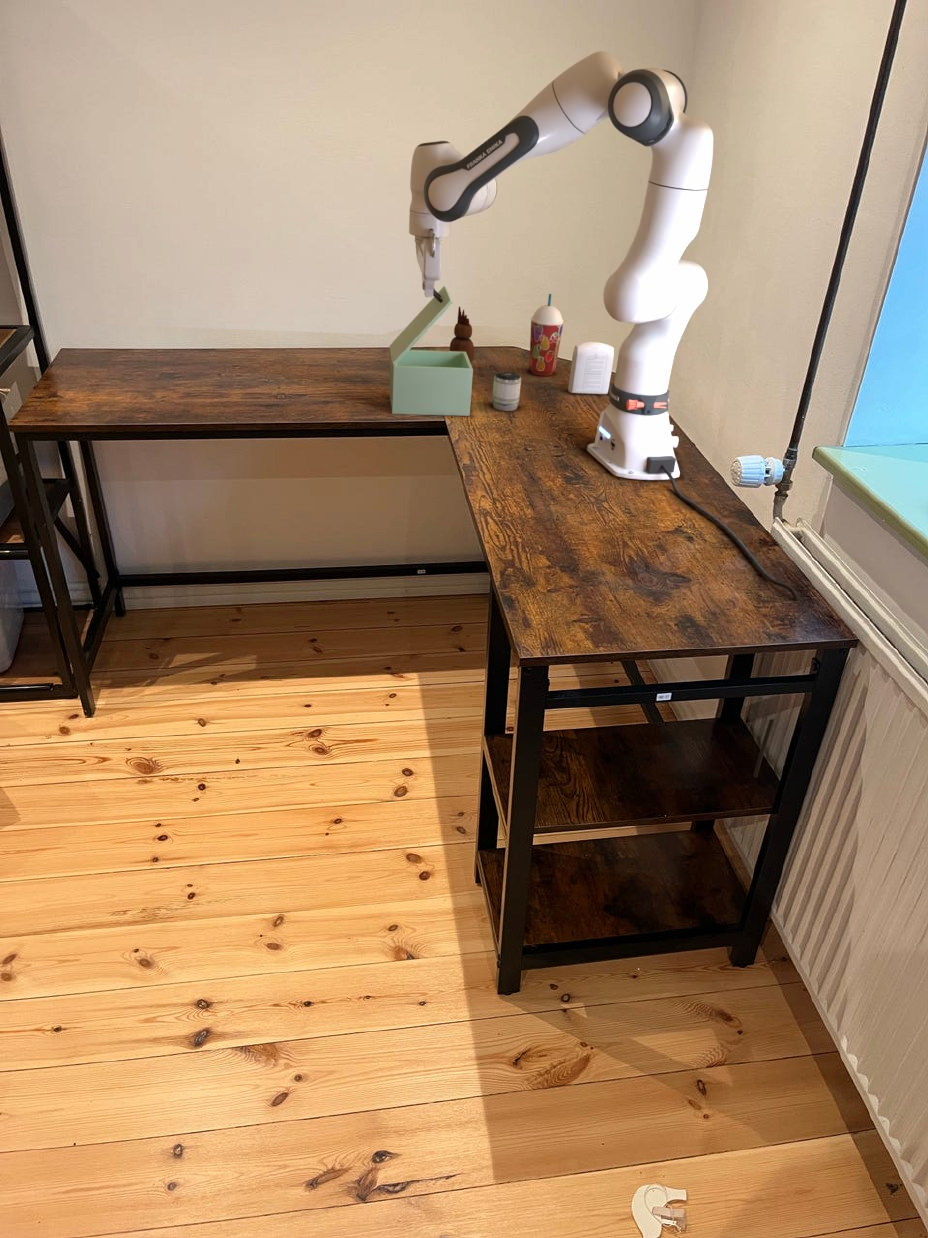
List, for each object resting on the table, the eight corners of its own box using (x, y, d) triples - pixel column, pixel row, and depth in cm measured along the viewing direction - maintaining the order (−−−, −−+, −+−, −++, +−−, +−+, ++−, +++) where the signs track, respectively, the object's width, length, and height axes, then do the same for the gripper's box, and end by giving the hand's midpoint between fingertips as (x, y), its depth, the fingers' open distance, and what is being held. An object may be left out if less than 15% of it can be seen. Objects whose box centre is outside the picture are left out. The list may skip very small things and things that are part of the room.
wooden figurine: (445, 363, 252) (448, 305, 245) (465, 362, 255) (469, 304, 247) (455, 371, 247) (459, 311, 240) (476, 369, 249) (480, 310, 242)
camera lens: (486, 405, 226) (488, 372, 222) (506, 401, 229) (509, 368, 225) (503, 413, 222) (506, 379, 218) (523, 409, 225) (527, 375, 221)
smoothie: (563, 372, 252) (572, 294, 242) (548, 379, 246) (557, 299, 236) (535, 365, 256) (543, 288, 246) (520, 372, 250) (527, 293, 240)
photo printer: (605, 389, 242) (612, 340, 236) (610, 395, 239) (617, 345, 232) (566, 388, 241) (572, 339, 234) (569, 394, 237) (576, 344, 231)
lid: (446, 287, 217) (430, 272, 214) (453, 302, 205) (436, 286, 203) (391, 348, 222) (375, 333, 220) (395, 365, 211) (377, 350, 209)
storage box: (462, 396, 230) (465, 351, 225) (469, 415, 219) (473, 368, 213) (389, 394, 228) (390, 348, 222) (392, 413, 216) (393, 366, 211)
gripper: (449, 235, 195) (446, 304, 202) (440, 218, 212) (437, 283, 219) (418, 233, 194) (416, 304, 201) (411, 217, 211) (410, 282, 218)
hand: (427, 293), depth 210 cm, fingers closed on lid, 5 cm apart
